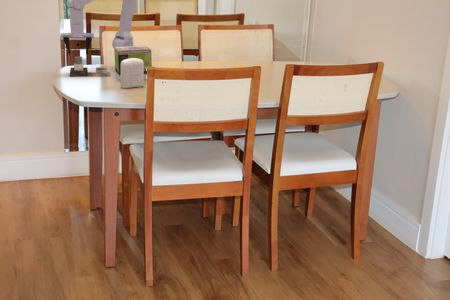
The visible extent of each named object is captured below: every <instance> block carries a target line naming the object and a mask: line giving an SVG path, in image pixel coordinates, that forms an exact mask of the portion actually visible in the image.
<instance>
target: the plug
mask: <svg viewBox="0 0 450 300" xmlns="http://www.w3.org/2000/svg"><path fill="white" fill-rule="evenodd" d="M73 68H74V71H75V70H84V62H83V57H82V56H74V63H73Z"/></svg>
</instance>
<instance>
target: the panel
mask: <svg viewBox="0 0 450 300" xmlns="http://www.w3.org/2000/svg"><path fill="white" fill-rule="evenodd" d="M88 70H89V69H88V67H87V66H86V67H84V70H75V71H74V67H70V69H69V77H70V78H84V77H85V78H90V77H91V78H96V77H97V78H98V77H101V78H102V77H103V78H106V77H107V78H109V77H111V72H110V71H108V67H106V66H105V67H100V66H99V67H95V72H93V71H90V72H88Z"/></svg>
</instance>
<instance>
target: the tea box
mask: <svg viewBox="0 0 450 300" xmlns="http://www.w3.org/2000/svg"><path fill="white" fill-rule="evenodd" d="M113 49H114V51H113V52H114V72H115V77H116V79H117V80H118V81H119V82H121V61H123V60H125V59H129V58H138V59H141V60H143V63H144V81H147V80H146V75H147V71H146V68H147V67H153V66H152V64H153V63H152V62H153V61H152V49H151V48H150V47H149V46H148V45H134V46H127V47H114V48H113Z"/></svg>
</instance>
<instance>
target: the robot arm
mask: <svg viewBox="0 0 450 300" xmlns="http://www.w3.org/2000/svg"><path fill="white" fill-rule="evenodd" d="M92 2H94V0H67V1H66V6H67V7H68V11H69V25H70V29H69V30H70V32H64V33H63V32H61V33H60V35H59V36H60V39H62V41H63V43H64V44H65V47H66V49H67V53H68V55H69V56H70V55H71V46H70V45H71V44H70V39H85V47H86V50H85V55H88V54H89V48H90V45H91V42H92V39H94V38H95V33H93V32H92V33H91V32H90V33H89V32H85V29H84V28H85V26H84V8H85V6H86V5H88V4H90V3H92ZM135 2H136V0H122V5H121V11H120V19H119V24H118V25H119V26H118V30H117V32H115V34H114V38H113V39H112V42H111V43H112V45H111V46H112V48H113V49H114V47H127V46H135V45H134V41H133V40H134V36H133V35H132V33H131V30H132V23H133V17H134V10H135Z"/></svg>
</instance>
